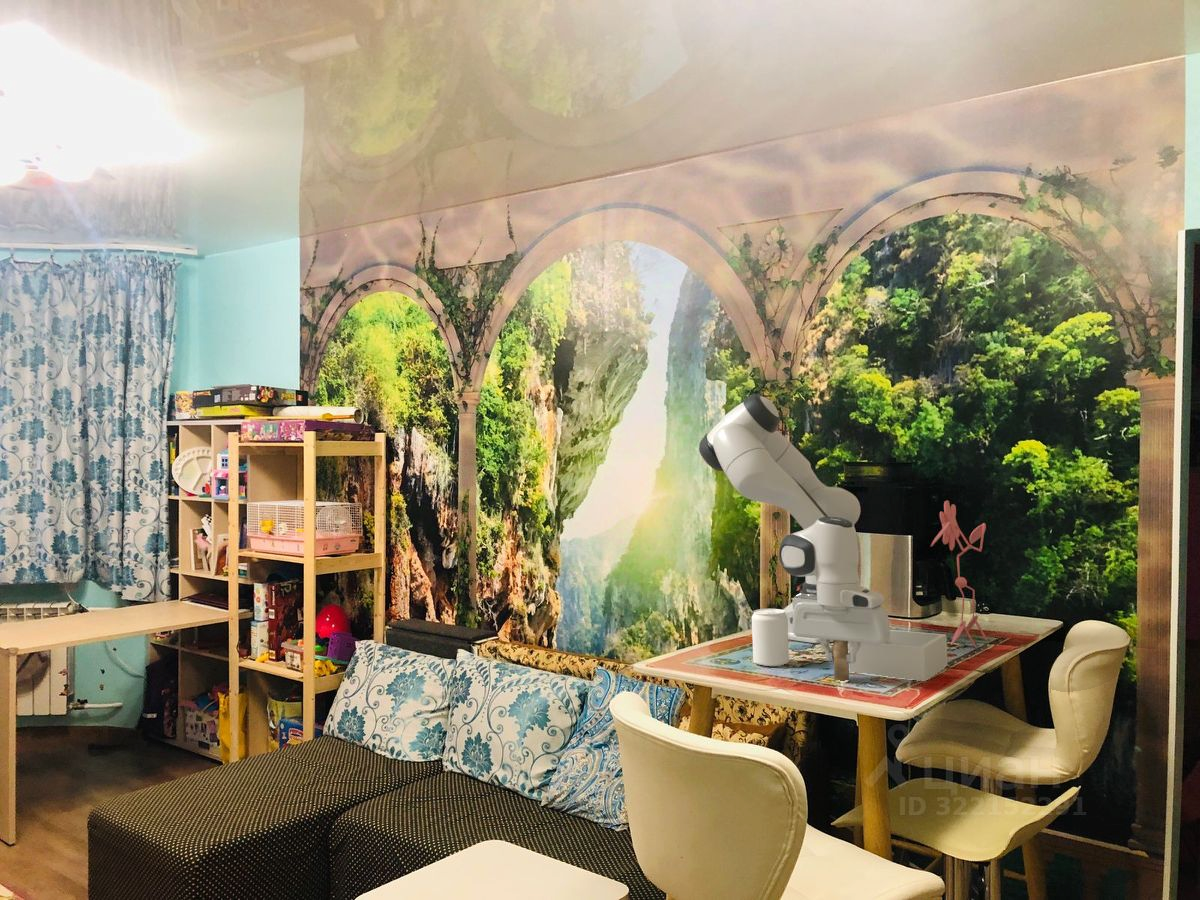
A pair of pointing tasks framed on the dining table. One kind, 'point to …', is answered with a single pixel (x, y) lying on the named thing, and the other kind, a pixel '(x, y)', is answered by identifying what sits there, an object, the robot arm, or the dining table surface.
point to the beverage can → (770, 637)
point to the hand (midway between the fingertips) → (841, 661)
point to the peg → (840, 660)
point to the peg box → (903, 656)
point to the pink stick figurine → (949, 535)
